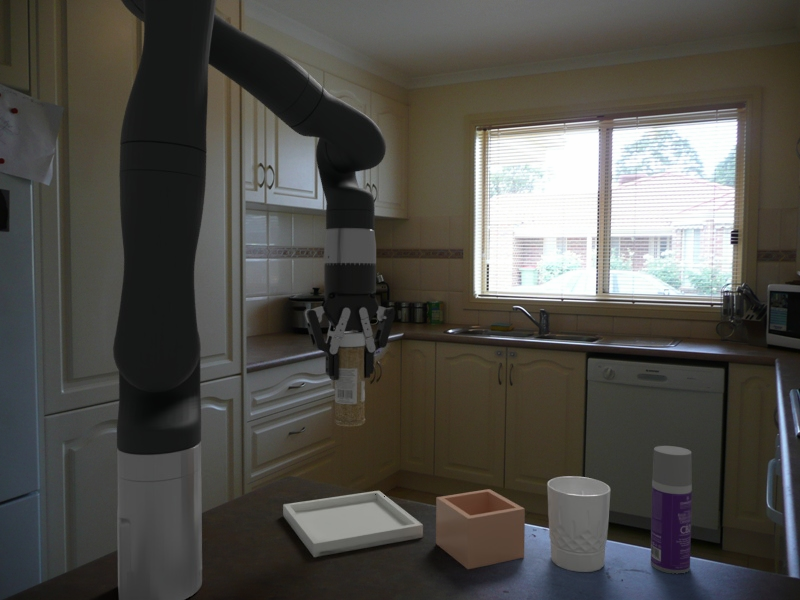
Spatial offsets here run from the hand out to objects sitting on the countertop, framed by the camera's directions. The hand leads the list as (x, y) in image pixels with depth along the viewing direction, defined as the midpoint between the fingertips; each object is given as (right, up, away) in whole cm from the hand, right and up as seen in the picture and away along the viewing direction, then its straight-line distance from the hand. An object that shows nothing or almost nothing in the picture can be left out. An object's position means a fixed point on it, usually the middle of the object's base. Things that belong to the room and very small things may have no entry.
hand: (350, 377), depth 95 cm
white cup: (+30, -23, -10) cm, 39 cm away
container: (+42, -23, -12) cm, 49 cm away
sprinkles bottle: (0, -7, 0) cm, 7 cm away
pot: (+18, -22, -7) cm, 30 cm away
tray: (0, -22, +1) cm, 22 cm away
